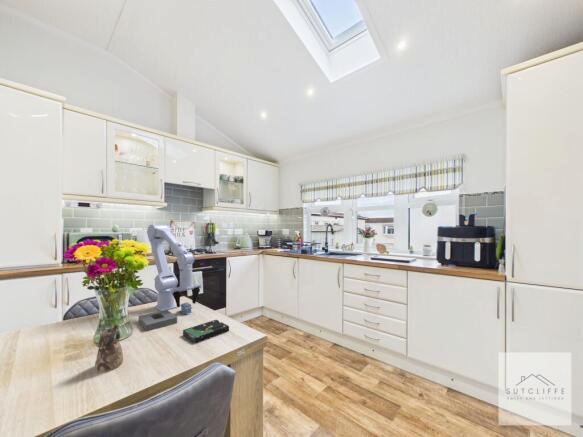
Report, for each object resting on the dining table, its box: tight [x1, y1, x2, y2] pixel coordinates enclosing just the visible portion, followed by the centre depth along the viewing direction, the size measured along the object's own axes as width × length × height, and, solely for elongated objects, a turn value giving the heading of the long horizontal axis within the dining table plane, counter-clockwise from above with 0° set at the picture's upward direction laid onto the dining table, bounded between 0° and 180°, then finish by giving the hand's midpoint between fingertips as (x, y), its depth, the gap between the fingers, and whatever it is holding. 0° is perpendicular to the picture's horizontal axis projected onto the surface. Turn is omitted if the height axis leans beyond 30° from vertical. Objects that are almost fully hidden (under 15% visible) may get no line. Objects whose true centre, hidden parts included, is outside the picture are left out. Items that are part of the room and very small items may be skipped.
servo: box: [180, 302, 193, 315], centre depth 125 cm, size 8×3×5 cm, turn 43°
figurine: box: [94, 324, 124, 374], centre depth 79 cm, size 7×7×12 cm
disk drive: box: [182, 319, 230, 345], centre depth 101 cm, size 10×3×15 cm
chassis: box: [138, 309, 178, 332], centre depth 113 cm, size 14×12×2 cm
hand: (186, 305), depth 125 cm, fingers open, 7 cm apart
